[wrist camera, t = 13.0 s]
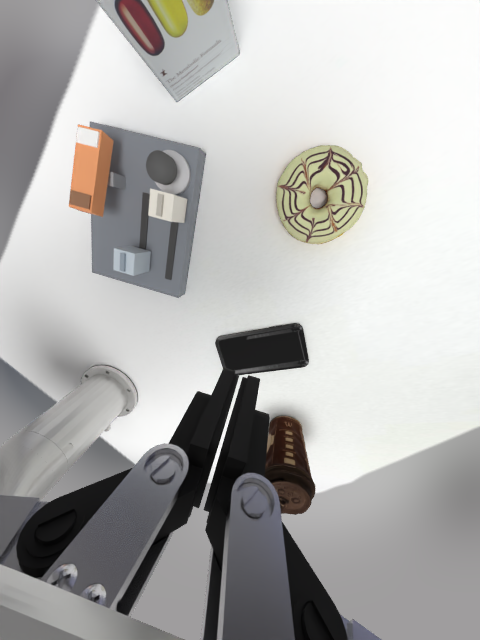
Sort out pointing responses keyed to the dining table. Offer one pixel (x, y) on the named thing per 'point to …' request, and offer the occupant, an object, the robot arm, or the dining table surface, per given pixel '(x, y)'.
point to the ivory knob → (167, 206)
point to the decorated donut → (330, 175)
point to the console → (146, 211)
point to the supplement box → (177, 38)
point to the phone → (263, 349)
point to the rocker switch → (90, 170)
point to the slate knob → (131, 260)
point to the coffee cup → (289, 465)
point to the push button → (161, 167)
